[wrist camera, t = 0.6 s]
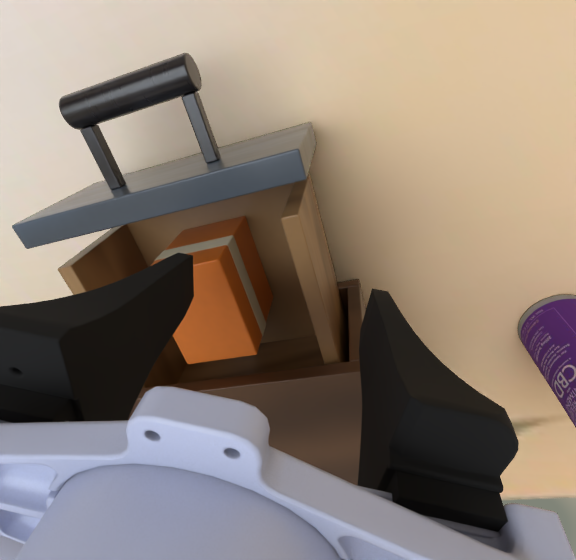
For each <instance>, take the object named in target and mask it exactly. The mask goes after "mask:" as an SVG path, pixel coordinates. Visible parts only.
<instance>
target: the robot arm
mask: <svg viewBox="0 0 576 560" xmlns="http://www.w3.org/2000/svg"><path fill="white" fill-rule="evenodd" d="M193 297H194V279H193V255H189V254H184V253H176V254H174V255H172V256H169V257H167V258H165V259H163V260H161V261H160V262H158V263H156V264H154V265H152V266H150V267H148V268H146V269H144V270H142V271H139V272H137V273H135V274H133V275H130V276H128V277H126V278H124V279H121V280H119V281H117V282H114V283H111V284H109V285H106V286H103V287H100V288H97V289H94V290H91V291H87V292H83V293H79V294H76V295H72V296H68V297H63V298H59V299H54V300H48V301H42V302H36V303H29V304H20V305H11V306H1V307H0V560H576V558H575V555H574V553H573V550H572V548H571V546H570V543H569V541H568V538H567V536H566V533H565V531H564V529H563V526H562V524H561V521H560V519H559V517H558V515H557V513H556V512H553V511H550V510H545V509H541V508H536V507H531V506H527V505H523V504H517V503H511V504H505V505H504V506H503V503H502V500H501V497H500V494H499V493H501V492H502V491H503V485H502V482H501V478H500V475H501V474H502V472H503V471H504V470H505V469H506V467H507V466H508V465H509V463H510V462H511V461H512V459H513V458H514V457H515V455H516V453H517V451H518V439H517V437H516V434H515V431H514V428H513V426H512V423H511V421H510V419H509V417H508V415H507V413H506V411H505V409H504V408H503V407H501V406H499V405H498V404H496V403H495V402H493V401H492V400H490V399H488V398H487V397H485V396H484V395H482V394H480V393H479V392H478V391H476V390H475V389H474V388H472V387H471V386H469V385H468V384H467V383H465V382H464V381H463V380H462V379H460V378H459V377H458V376H457V375H455V374H454V373H453V372H452V371H451V370H450V369H448V368H447V367H446V366H445V365H444V364H443V363H442V362H441V361H440V360H439V359H438V358H437V357H436V356H435V355H434V354H433V353H432V352H431V351H430V350H429V349H428V348H427V347H426V346H425V345H424V343H423V342H422V341H421V340H420V339H419V337H418V336H417V335H416V334H415V332H414V331H413V330H412V328H411V327H410V325H409V324H408V323H407V321H406V320H405V318H404V317H403V315H402V314H401V312H400V310H399V309H398V307H397V305H396V304H395V302H394V300H393V299H392V297H391V296H390V294H389V292H387V291H382V290H377V289H372V291H371V295H370V298H369V301H368V305H367V308H366V312H365V315H364V319H363V322H362V325H361V329H360V341H359V361H360V376H361V391H362V424H361V443H360V459H359V473H358V486H357V485H354V484H352V483H350V482H348V481H345V480H343V479H341V478H339V477H337V476H334V475H332V474H330V473H328V472H326V471H323V470H321V469H319V468H317V467H315V466H312V465H310V464H308V463H306V462H304V461H301V460H299V459H297V458H295V457H293V456H290V455H288V454H286V453H284V452H282V451H279V450H277V449H275V448H273V447H271V446H269V443H268V438H269V432H270V427H269V423H268V419H267V417H266V416H265V415H264V414H263V413H262V412H261V411H260V410H258V409H257V408H256V407H255V406H253V405H250V404H248V403H245V402H243V401H239V400H234V399H229V398H225V397H220V396H215V395H211V394H206V393H201V392H196V391H192V390H187V389H182V388H177V387H171V386H156V387H154V388H152V389H150V390H149V391H147V392H145V394H144V396H143V397H142V399H141V401H140V402H139V404H138V406H137V407H136V409H135V411H134V412H133V414H132V416H131V417H130V419H129V420H128V418H129V416H130V413H131V411H132V409H133V406H134V404H135V402H136V400H137V398H138V396H139V394H140V392H141V389H142V387H143V385H144V383H145V381H146V379H147V377H148V375H149V373H150V371H151V369H152V367H153V365H154V364H155V362H156V360H157V359H158V357H159V355H160V354H161V352H162V351H163V349H164V348H165V346H166V345H167V343H168V342H169V340H170V339H171V337H172V336H173V334H174V332H175V331H176V329H177V328H178V326H179V325H180V323H181V322H182V320H183V318H184V317H185V315H186V313H187V311H188V309H189V307H190V304H191V302H192V300H193Z"/></svg>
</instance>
